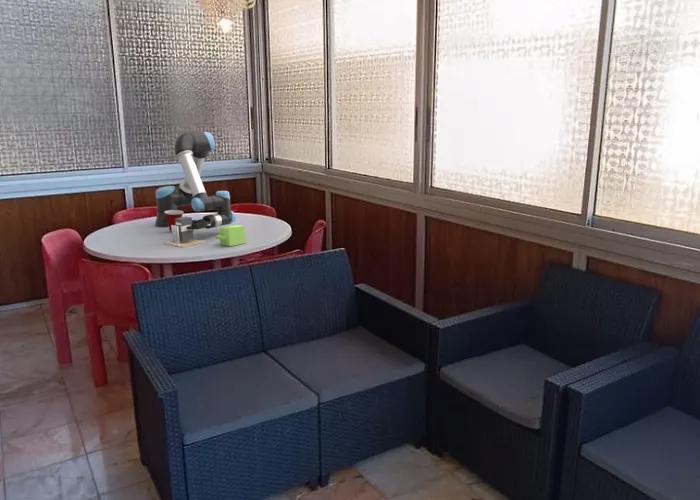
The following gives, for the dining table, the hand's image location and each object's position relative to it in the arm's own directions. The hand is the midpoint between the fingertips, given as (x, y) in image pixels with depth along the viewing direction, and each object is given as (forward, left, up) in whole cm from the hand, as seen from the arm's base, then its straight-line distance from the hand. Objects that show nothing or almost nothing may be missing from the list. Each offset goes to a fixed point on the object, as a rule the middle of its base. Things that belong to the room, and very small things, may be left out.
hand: (177, 228), depth 312 cm
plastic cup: (-29, +20, -9) cm, 37 cm away
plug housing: (0, +4, -7) cm, 8 cm away
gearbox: (+23, +17, -9) cm, 30 cm away
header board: (0, +4, -8) cm, 9 cm away
